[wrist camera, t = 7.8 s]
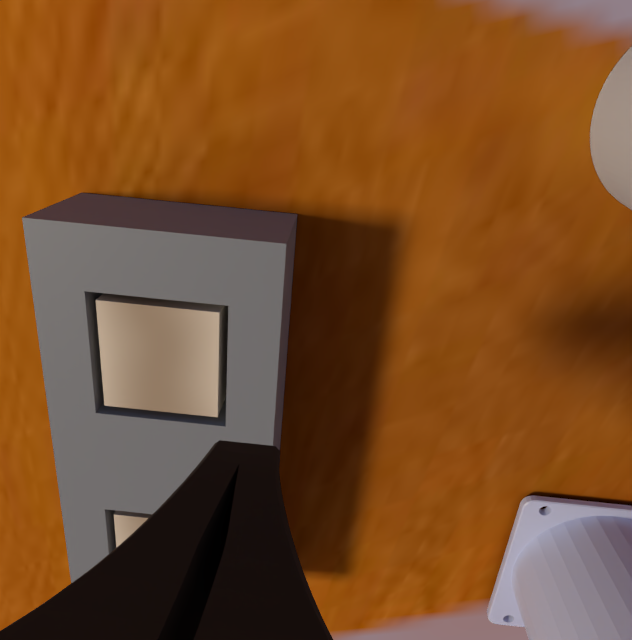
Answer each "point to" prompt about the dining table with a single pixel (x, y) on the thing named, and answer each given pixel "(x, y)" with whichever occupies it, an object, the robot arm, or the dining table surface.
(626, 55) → the coffee cup
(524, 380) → the dining table surface
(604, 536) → the robot arm
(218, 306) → the near peg
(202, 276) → the grey peg hole board
